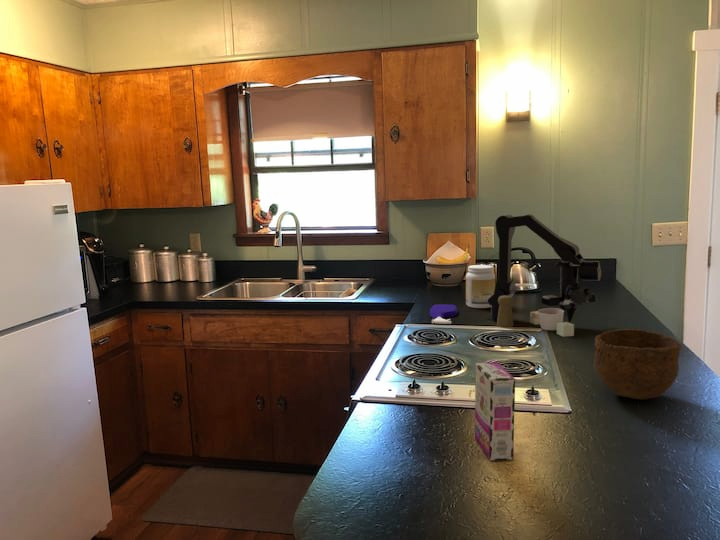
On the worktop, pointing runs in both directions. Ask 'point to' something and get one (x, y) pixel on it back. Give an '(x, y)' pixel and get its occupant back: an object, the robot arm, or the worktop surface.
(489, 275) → the supplement tub
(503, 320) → the cork
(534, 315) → the birch block
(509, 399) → the candy bar box
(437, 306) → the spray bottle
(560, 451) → the worktop surface
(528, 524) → the worktop surface
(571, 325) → the sage block
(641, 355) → the bowl
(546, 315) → the candle
